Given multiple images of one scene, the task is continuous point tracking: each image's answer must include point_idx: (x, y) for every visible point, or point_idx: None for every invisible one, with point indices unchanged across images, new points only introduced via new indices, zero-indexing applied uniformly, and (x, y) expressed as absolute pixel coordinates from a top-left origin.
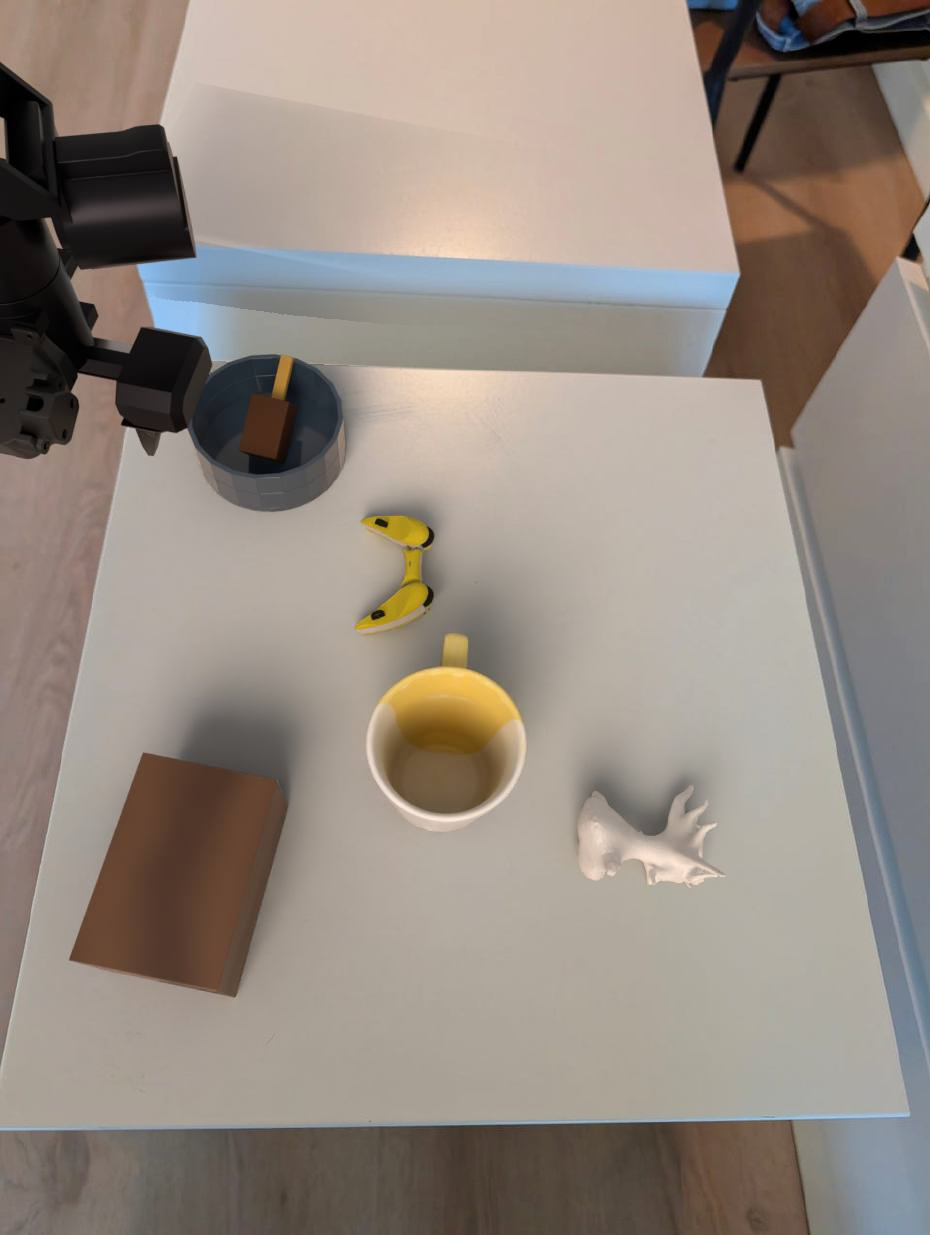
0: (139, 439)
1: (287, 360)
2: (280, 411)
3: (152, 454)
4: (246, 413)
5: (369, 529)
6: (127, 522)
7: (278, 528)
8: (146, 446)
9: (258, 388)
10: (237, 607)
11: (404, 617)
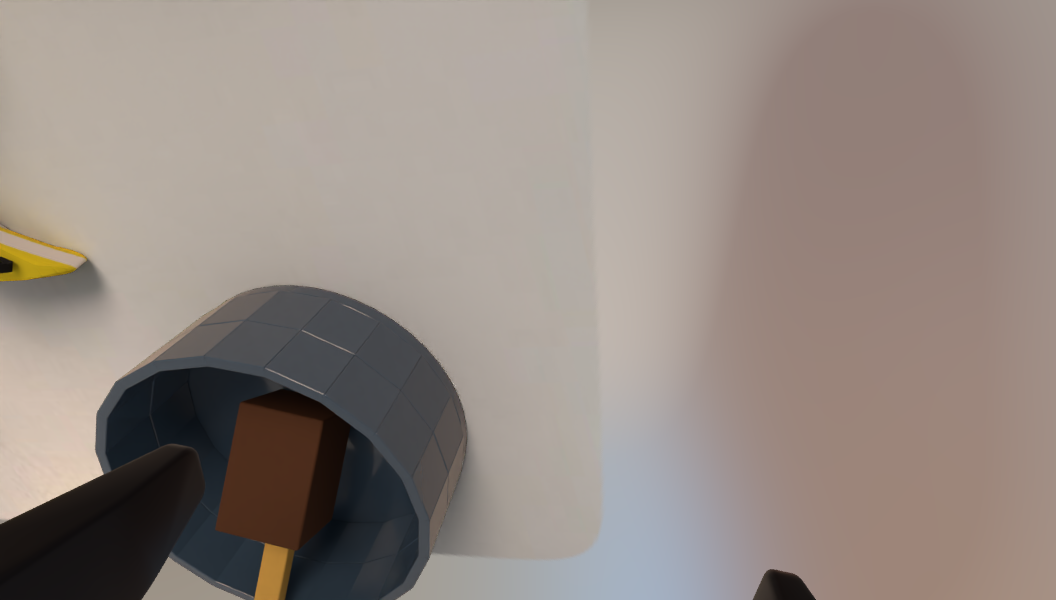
0: (25, 564)
1: None
2: (231, 509)
3: (149, 454)
4: (391, 485)
5: (67, 254)
6: (575, 243)
7: (247, 247)
8: (80, 507)
9: (377, 531)
10: (247, 23)
11: None
